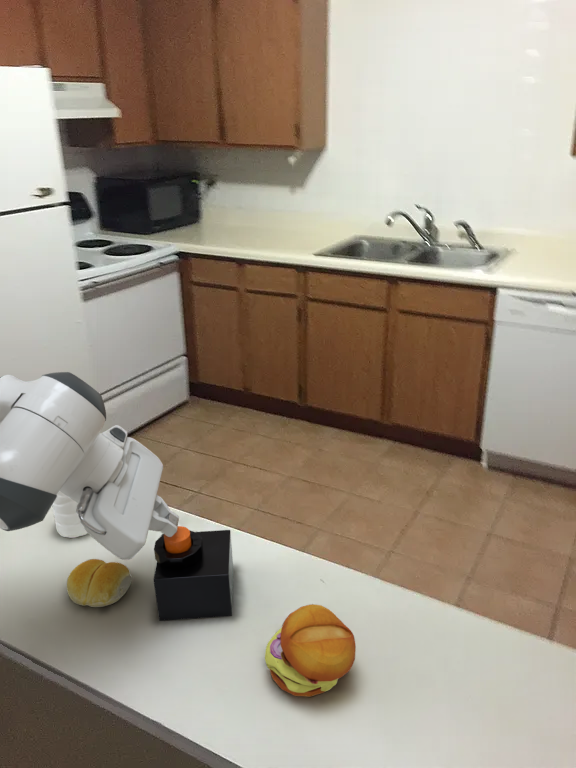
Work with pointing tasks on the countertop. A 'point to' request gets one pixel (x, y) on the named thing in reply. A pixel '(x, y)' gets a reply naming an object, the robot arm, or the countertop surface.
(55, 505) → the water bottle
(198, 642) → the countertop surface
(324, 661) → the cheeseburger
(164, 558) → the black push button box
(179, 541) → the orange button cap
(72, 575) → the bread roll
